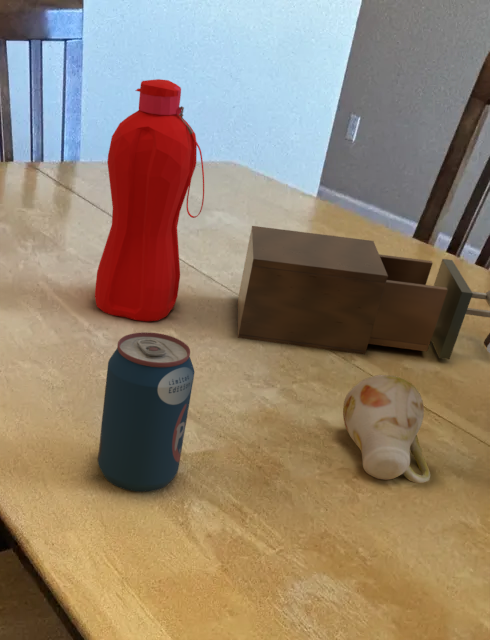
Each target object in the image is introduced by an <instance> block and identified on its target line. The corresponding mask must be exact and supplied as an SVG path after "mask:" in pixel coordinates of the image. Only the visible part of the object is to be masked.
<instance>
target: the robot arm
mask: <svg viewBox="0 0 490 640" xmlns="http://www.w3.org/2000/svg"><path fill="white" fill-rule="evenodd" d="M483 346H484V349H485V350H486V351H487V353H488V354H490V332H489V333H488V335H487V336H486V337H485V339H484V341H483Z"/></svg>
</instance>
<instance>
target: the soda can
mask: <svg viewBox="0 0 490 640" xmlns="http://www.w3.org/2000/svg"><path fill="white" fill-rule="evenodd" d="M116 346H117V347H116V349H115V350H114V351H113V353H112V355H111V356H110V357H109V359H108V362H107V369H106V379H105V386H104V387H105V389H104V397H103V407H102V416H101V424H100V425H101V426H100V434H99V444H98V452H97V453H98V454H97V465H98V467H99V469H100V471H101V473H102V475H103V477H104V478H105V479H106V480H107V482H109V483H110V484H112V485H114V486H115V487H117V488H120V489H123V490H126V491H129V492H136V493H137V492H138V493H147V492H148V493H149V492H154V491H158V490H161V489H163V488H165V487H166V486H167V485H169V484H170V483H171V482H172V480H174V479H175V477H176V476H177V474H178V472H179V468H180V463H181V456H182V449H183V445H184V437H185V433H186V425H187V421H188V420H187V419H188V413H189V409H190V408H189V407H190V402H191V397H192V390H193V385H194V384H193V383H194V380H195V379H194V378H195V368H194V365H193V362H192V360H191V348H190V347H189V345H188V344H187V343H185V342H184V341H182V340H181V339H179V338H176V337H174V336H171V335H168V334H165V333H164V334H163V333H159V332H149V331H148V332H147V331H146V332H143V331H142V332H134V333H133V332H132V333H130V334H127V335H124V336H122V337H121V338H119V340H118V341H117V345H116Z"/></svg>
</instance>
